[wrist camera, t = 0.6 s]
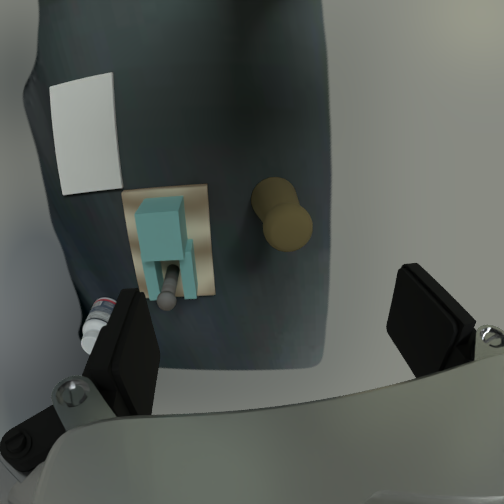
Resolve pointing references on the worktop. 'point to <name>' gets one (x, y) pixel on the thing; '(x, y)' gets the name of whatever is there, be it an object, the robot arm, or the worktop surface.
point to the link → (165, 243)
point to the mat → (86, 134)
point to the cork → (281, 214)
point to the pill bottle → (96, 322)
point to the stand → (196, 230)
